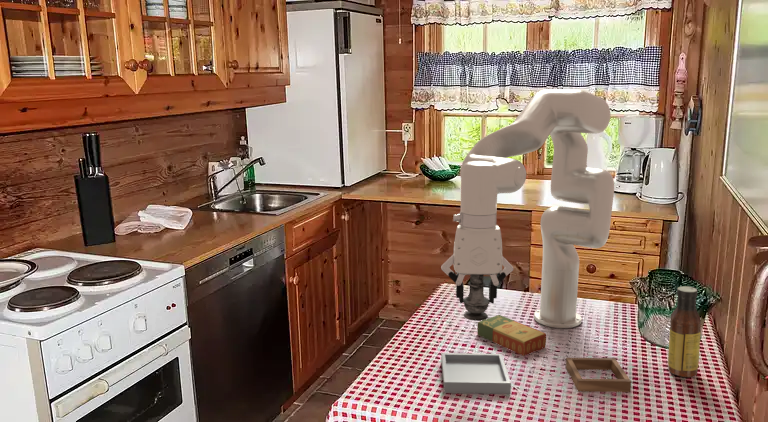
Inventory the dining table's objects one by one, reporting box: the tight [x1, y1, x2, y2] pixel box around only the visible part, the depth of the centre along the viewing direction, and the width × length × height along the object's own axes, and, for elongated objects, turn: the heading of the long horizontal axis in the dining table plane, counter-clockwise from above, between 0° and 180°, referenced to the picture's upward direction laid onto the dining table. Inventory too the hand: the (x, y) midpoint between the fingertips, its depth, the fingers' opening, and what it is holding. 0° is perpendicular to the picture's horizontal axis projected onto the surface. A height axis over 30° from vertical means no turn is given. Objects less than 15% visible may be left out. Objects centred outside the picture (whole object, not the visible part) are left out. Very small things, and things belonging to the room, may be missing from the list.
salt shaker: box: [463, 275, 491, 322], centre depth 135 cm, size 6×6×12 cm
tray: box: [440, 352, 512, 395], centre depth 139 cm, size 14×14×2 cm
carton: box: [476, 314, 547, 357], centre depth 158 cm, size 8×16×4 cm, turn 36°
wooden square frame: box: [565, 357, 632, 393], centre depth 138 cm, size 11×11×2 cm
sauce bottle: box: [667, 285, 702, 378], centre depth 139 cm, size 6×6×20 cm
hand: (476, 300), depth 135 cm, fingers closed on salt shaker, 5 cm apart
